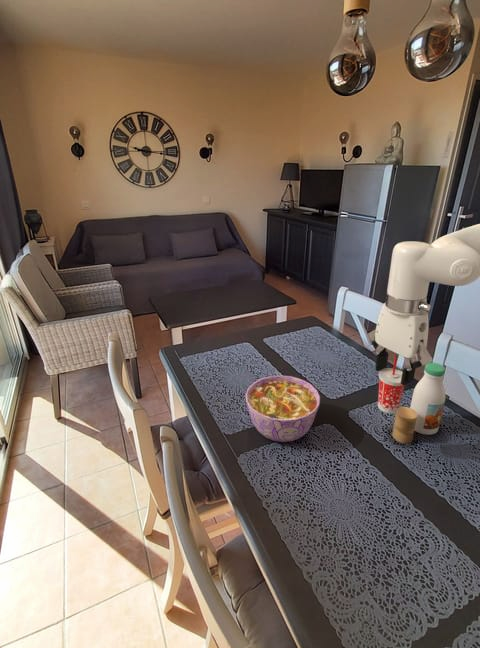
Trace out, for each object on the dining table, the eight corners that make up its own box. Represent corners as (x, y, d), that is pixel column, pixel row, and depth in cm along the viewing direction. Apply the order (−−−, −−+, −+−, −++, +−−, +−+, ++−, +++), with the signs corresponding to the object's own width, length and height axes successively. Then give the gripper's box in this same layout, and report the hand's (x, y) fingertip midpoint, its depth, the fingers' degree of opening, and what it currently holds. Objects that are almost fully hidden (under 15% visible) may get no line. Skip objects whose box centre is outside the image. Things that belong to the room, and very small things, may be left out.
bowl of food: (292, 469, 89) (293, 432, 84) (231, 433, 101) (230, 399, 96) (330, 426, 102) (333, 392, 98) (273, 399, 115) (274, 367, 110)
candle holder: (410, 431, 99) (415, 405, 96) (418, 449, 93) (424, 421, 90) (386, 430, 100) (390, 404, 96) (392, 447, 94) (397, 420, 90)
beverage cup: (407, 410, 84) (417, 358, 79) (388, 418, 82) (397, 366, 76) (387, 396, 89) (395, 347, 84) (368, 404, 87) (375, 353, 81)
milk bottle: (409, 435, 98) (422, 373, 90) (404, 417, 105) (416, 357, 97) (440, 439, 96) (456, 376, 88) (433, 420, 103) (447, 360, 95)
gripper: (456, 311, 70) (439, 389, 77) (382, 287, 84) (373, 355, 91) (433, 320, 66) (417, 400, 74) (360, 294, 80) (352, 364, 87)
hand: (393, 375), depth 82 cm, fingers closed on beverage cup, 6 cm apart
